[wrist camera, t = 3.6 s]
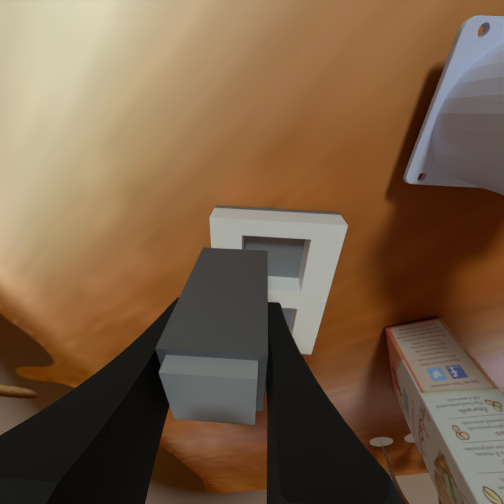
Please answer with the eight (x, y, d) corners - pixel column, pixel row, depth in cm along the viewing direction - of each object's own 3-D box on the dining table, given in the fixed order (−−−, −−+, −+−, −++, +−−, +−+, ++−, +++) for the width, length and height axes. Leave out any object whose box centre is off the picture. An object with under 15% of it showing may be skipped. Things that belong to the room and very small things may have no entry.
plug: (267, 250, 13) (268, 374, 7) (264, 299, 14) (262, 429, 8) (203, 247, 13) (147, 366, 7) (208, 295, 15) (168, 422, 9)
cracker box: (379, 326, 25) (660, 861, 7) (441, 314, 24) (986, 944, 6) (389, 392, 32) (548, 756, 14) (438, 386, 30) (686, 783, 12)
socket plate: (338, 212, 18) (347, 225, 16) (307, 335, 26) (311, 354, 24) (216, 205, 19) (209, 217, 17) (221, 328, 27) (217, 347, 24)
